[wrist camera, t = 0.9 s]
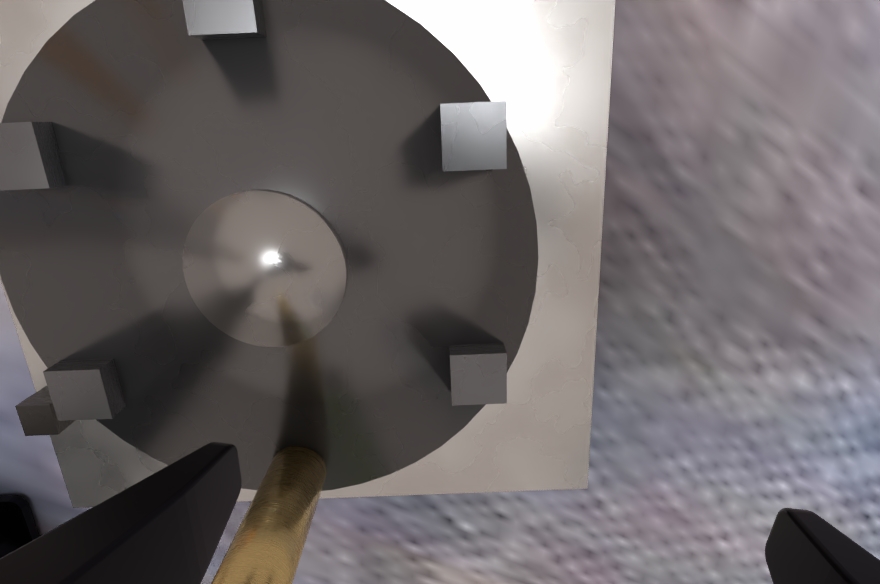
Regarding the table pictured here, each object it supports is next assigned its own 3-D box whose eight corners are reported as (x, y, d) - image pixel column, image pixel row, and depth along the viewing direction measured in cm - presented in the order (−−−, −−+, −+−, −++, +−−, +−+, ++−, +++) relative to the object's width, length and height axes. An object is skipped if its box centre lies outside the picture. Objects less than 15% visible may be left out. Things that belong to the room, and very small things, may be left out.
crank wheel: (-4, 0, 16) (-503, -142, 8) (525, -25, 16) (627, -196, 8) (120, 451, 22) (-95, 672, 13) (521, 436, 22) (578, 648, 13)
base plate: (578, 467, 24) (608, 540, 20) (94, 485, 24) (21, 562, 20) (607, -116, 17) (664, -196, 13) (-76, -84, 17) (-245, -153, 13)
